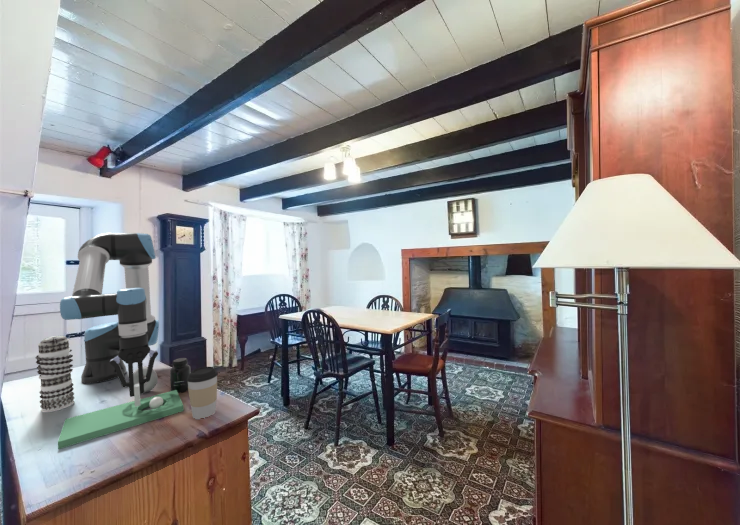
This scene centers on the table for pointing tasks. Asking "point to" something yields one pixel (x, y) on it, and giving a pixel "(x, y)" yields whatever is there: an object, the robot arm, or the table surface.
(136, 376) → the donut
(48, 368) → the decorative candle
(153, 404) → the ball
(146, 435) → the table surface
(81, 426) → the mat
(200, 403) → the coffee cup
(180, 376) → the supplement bottle
